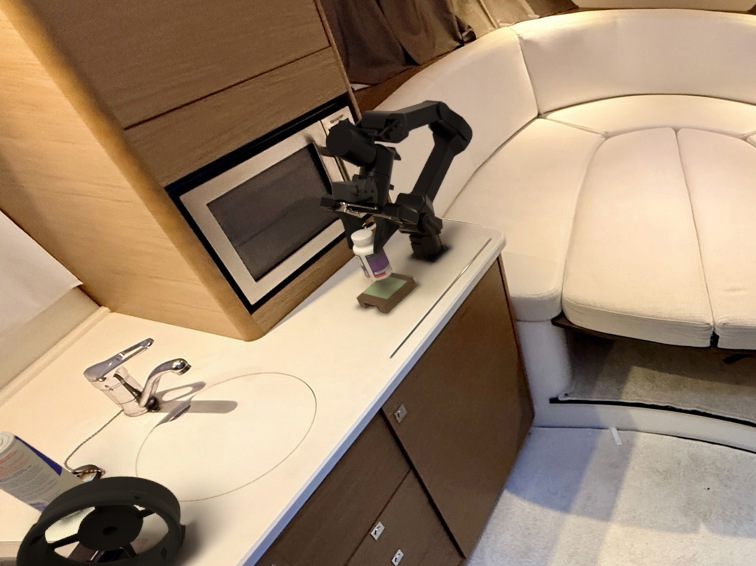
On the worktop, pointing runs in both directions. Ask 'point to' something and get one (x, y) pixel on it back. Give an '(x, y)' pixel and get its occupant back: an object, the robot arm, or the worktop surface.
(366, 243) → the pill bottle
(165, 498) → the black wheel
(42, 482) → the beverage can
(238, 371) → the worktop surface
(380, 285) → the box with green label
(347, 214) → the robot arm
